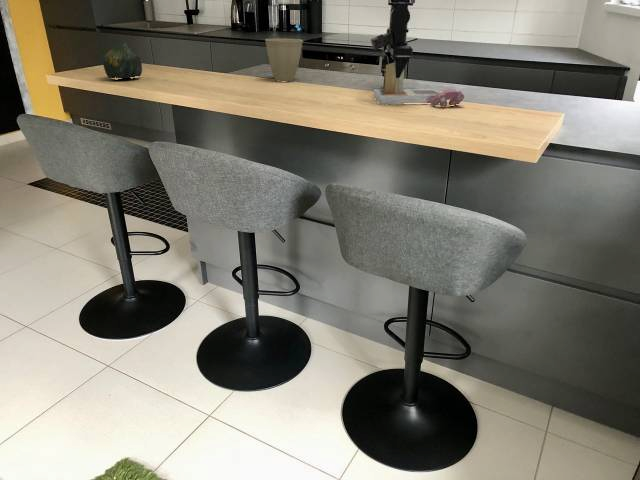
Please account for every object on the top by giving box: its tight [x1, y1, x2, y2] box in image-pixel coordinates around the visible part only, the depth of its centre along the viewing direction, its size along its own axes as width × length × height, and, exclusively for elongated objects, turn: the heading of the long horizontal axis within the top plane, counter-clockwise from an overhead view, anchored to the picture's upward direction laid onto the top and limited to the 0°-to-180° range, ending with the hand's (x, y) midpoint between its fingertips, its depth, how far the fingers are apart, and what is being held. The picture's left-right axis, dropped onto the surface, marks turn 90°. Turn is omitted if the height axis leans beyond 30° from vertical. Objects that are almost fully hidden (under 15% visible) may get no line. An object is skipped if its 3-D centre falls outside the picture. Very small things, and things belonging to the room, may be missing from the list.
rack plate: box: [373, 88, 440, 105], centre depth 174 cm, size 12×22×3 cm, turn 95°
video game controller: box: [430, 88, 465, 107], centre depth 166 cm, size 10×5×7 cm, turn 106°
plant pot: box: [264, 38, 304, 82], centre depth 208 cm, size 15×15×16 cm
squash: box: [102, 41, 143, 79], centre depth 206 cm, size 14×15×15 cm
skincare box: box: [384, 63, 405, 94], centre depth 172 cm, size 6×4×12 cm
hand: (394, 76), depth 171 cm, fingers open, 9 cm apart
